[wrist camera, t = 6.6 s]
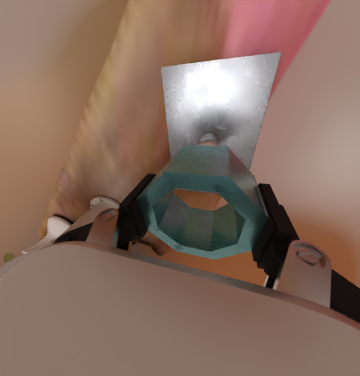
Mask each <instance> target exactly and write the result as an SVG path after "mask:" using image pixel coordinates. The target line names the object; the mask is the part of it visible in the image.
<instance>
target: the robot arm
mask: <svg viewBox="0 0 360 376" xmlns="http://www.w3.org/2000/svg"><path fill="white" fill-rule="evenodd" d="M155 176H156V175H155V174H147V175H146V176H145V177H144V179H143V180H142V181H141V182H140V183H139V184H138V185H137V186H136V187H135V188H134V189H133V191H132V192H131V193H130V194H129V195H128V196H127V197H126V198H125V199H124V200H123V201H122V203H121V204H119V203H117V202H116V201H114V200H112V199H110V198H108V197H104V196H97V197H95V198H93V199H92V200H91V202H90V207H91V208H90V209H89V210H88V211H87V212H86V213H85V214H84V215H82V216H81V217H80V218H79V219H78V220H77V221H76V222H75V223H73V224H72V225H71V226H70V227H69V228H68V229H67V230H65V231H64V232H63V233H62V234H61V235H60V236H59V237H58V238H56V239H55V240H54V241H53V242H51V243H49V244H46V245H44V246H42V247H40V248H37V249H35V250H33V251H31V252H28V253H26V254H24V255H22V256H20V257H17V258H15V259H13V260H11V261H9V262H8V263H6V264H5V265H4V266H2V267H1V268H0V376H360V288H358V287H357V286H355V285H354V284H353V283H351V282H350V281H348V280H347V279H346V278H344V277H343V276H341V275H340V274H338V273H337V272H335V271H334V270H333V269H332V265H331V261H330V259H329V257H328V256H327V255H326V254H325V253H324V251H322V250H321V249H320V248H319V247H317V246H315V245H314V244H312V243H309V242H307V241H303V240H300V239H299V237H298V235H297V234H296V231H295V229H294V227H293V225H292V223H291V221H290V219H289V217H288V215H287V213H286V211H285V209H284V207H283V206H282V205H279V203H278V201H277V199H276V197H275V195H274V192H273V190H272V188H271V186H270V184H261V183H260V184H259V185H257V186H258V189H259V191H260V194H261V197H262V200H263V203H264V206H265V208H266V211H267V214H268V218H267V220H266V222H265V224H264V226H263V228H262V231H261V233H260V235H259V237H258V239H257V241H256V243H255V245H254V247H253V249H252V254H253V260H254V261H255V262H257V267H258V268H261V269H264V272H265V273H266V274H267V278H266V281H265V283H264V286H259V285H256V284H253V283H249V282H245V281H241V280H238V279H234V278H230V277H226V276H222V275H219V274H215V273H211V272H207V271H204V270H200V269H196V268H192V267H188V266H184V265H180V264H177V263H172V262H169V261H165V260H161V259H157V258H153V257H149V256H145V255H141V254H138V253H134V252H131V244H132V241H133V239H135V240H139V241H140V239H141V238H142V237H144V235H145V234H146V232H147V227H146V224H145V221H144V217H143V214H142V211H141V208H140V205H139V202H138V197H139V196H140V195H141V194H142V192H143V191H144V190H145V189H146V187H147V186H148V185H149V184H150V182H151V181H152V180H153V179H154V177H155Z"/></svg>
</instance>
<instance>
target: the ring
mask: <svg viewBox="0 0 360 376" xmlns="http://www.w3.org/2000/svg"><path fill="white" fill-rule="evenodd" d="M174 188H179V189H188V190H197V191H207V192H216V193H219V194H220V195H221V196H222V197H223V198H224V199H225V200H226V201H227V202H228V204H226V205H225V206H223V207H221V208H219V209H217V210H215V211H209V210H202V209H195V208H190V207H189V206H188V205H187V204H186V203H185V202H183V201H182V200H181V199H180V198H179V197H178V196H177V195H175V194H174ZM138 202H139V205H140V208H141V211H142V214H143V217H144V221H145V224H146V227H147V230H149V231H150V232H151V233H153V234H154V235H155V236H157V237H158V238H160V239H161V240H162V241H164V242H165V243H166V244H168V245H169V246H170V247H172V248H173V249H175V250H176V251H179V252H184V253H188V254H193V255H197V256H201V257H206V258H210V259H214V260H215V259H218V258H223V257H227V256H231V255H235V254H239V253H244V252H248V251H252V249H253V247H254V245H255V243H256V241H257V239H258V237H259V235H260V233H261V231H262V228H263V226H264V224H265V222H266V220H267V218H268V214H267V211H266V208H265V206H264V203H263V200H262V197H261V194H260V191H259V189H258V186H257V183H256V180H255V177H254V175H253V174H252V173H251V172H250V171H249V170H248V169H247V168H246V166H245V165H244V164H243V163H242V162H241V161H240V160H239V158H238V157H237V156H236V155H235V154H234V153H233V152H232V151H231V149H230V148H229V147H228V146H208V145H183V147H182V148H181V149H180V150H179V151H178V152H177V153H176V154H175V155H174V157H173V158H172V159H171V160H170V161H169V162H168V163H167V164H166V165H165V166H164V167H163V168H161V170H160V171H159V172H158V173H157V175H156V176H155V177H154V179H153V180H152V181H151V182H150V184H149V185H148V186H147V187H146V189H145V190H144V191H143V192H142V194H141V195H140V196H139V197H138Z"/></svg>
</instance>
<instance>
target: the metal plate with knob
mask: <svg viewBox="0 0 360 376" xmlns="http://www.w3.org/2000/svg"><path fill="white" fill-rule="evenodd" d="M280 55H281V52H277V53H269V54H261V55H253V56H245V57H237V58H229V59H221V60H213V61H205V62H197V63H189V64H181V65H173V66H165V67H161V71H162V81H163V91H164V101H165V110H166V120H167V130H168V140H169V149H170V159H172V158H173V157H174V155H175V154H176V153H177V152H178V151H179V150H180V149H181V148H182V147H183V145H208V146H228V147H229V148H230V149H231V151H232V152H233V153H234V154H235V155H236V156H237V157H238V158H239V160H240V161H241V162H242V163H243V164H244V165H245V166H246V168H247V169H248V170H249V169H250V166H251V162H252V159H253V155H254V151H255V147H256V144H257V140H258V136H259V132H260V129H261V125H262V121H263V118H264V114H265V111H266V107H267V103H268V100H269V96H270V92H271V89H272V85H273V81H274V78H275V74H276V70H277V67H278V63H279V59H280ZM174 189H177V190H187V191H197V190H188V189H179V188H174ZM197 192H206V193H216V192H207V191H197ZM216 194H219V193H216Z"/></svg>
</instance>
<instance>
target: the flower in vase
mask: <svg viewBox="0 0 360 376" xmlns="http://www.w3.org/2000/svg"><path fill="white" fill-rule="evenodd" d="M47 224H48V234H47V236H46V237H45V238H44V239H42V240H41V241H40V242H39V243H37V244H36V245H34V246H33V247H31V248H29V249H26V250H23V251H21V252H22V253H23V254H26V253H28V252H31V251H33V250H35V249H37V248H40V247H42V246H44V245H46V244H48V243H49V242H50V241H51V240H53V239H56V238H58V237H59V236H60V235H61V234H62V233H63V232H64V231H65V230H67V229H68V228H69V227H70V226H71V224H70V223H69V222H68V221H66V220H65V219H62V218H60V217H56V216H53V217H50V218H49V219H48V223H47ZM13 259H14V254H10V253H9V254H8V253H7V254H5V255H4V262H6V263H8V262H9V261H11V260H13Z"/></svg>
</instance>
